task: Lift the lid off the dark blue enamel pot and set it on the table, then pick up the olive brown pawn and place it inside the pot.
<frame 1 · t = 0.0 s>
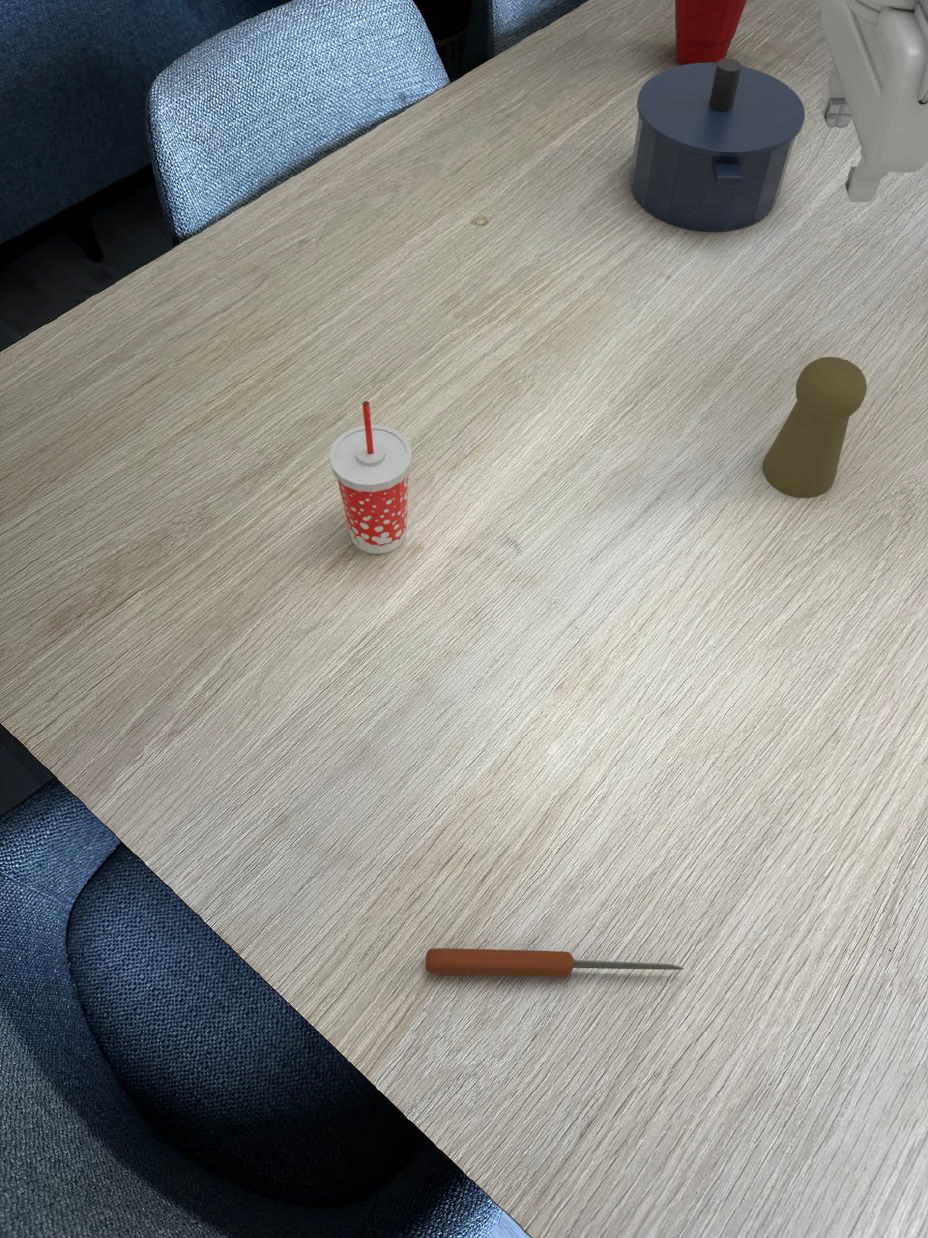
hand: (845, 157, 75), 22 cm above the table, tool pointing down, fingers open, 8 cm apart
plastic cup: (697, 60, 127), on the table
lid: (719, 110, 104), point 8 cm above the table, touching pot
orange-handled awl: (553, 970, 64), on the table
beverage cup: (378, 533, 84), on the table
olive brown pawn: (797, 472, 88), on the table
pot: (703, 187, 111), on the table
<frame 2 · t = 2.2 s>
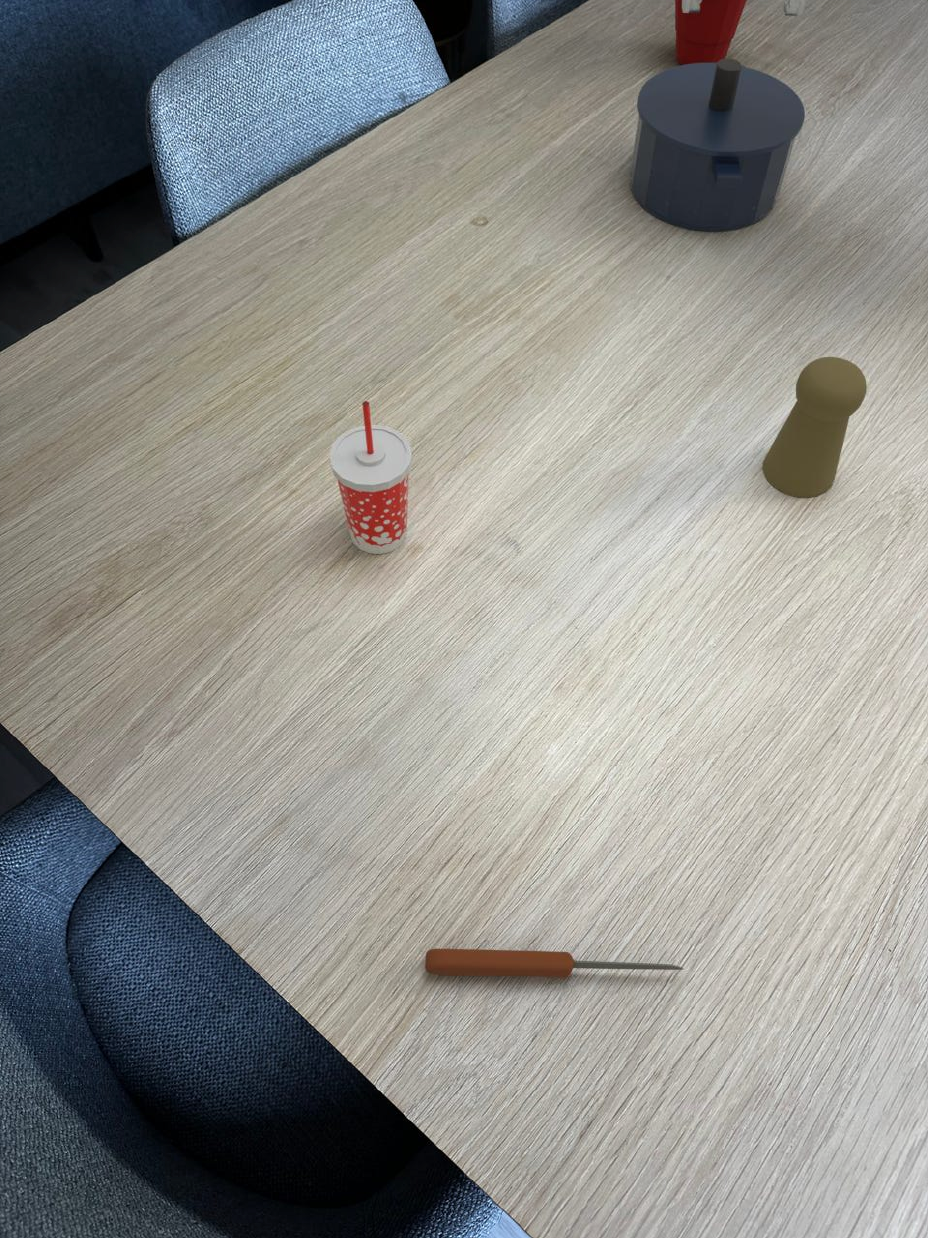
hand: (741, 11, 96), 18 cm above the table, tool pointing down, fingers open, 8 cm apart
nothing on the table moved.
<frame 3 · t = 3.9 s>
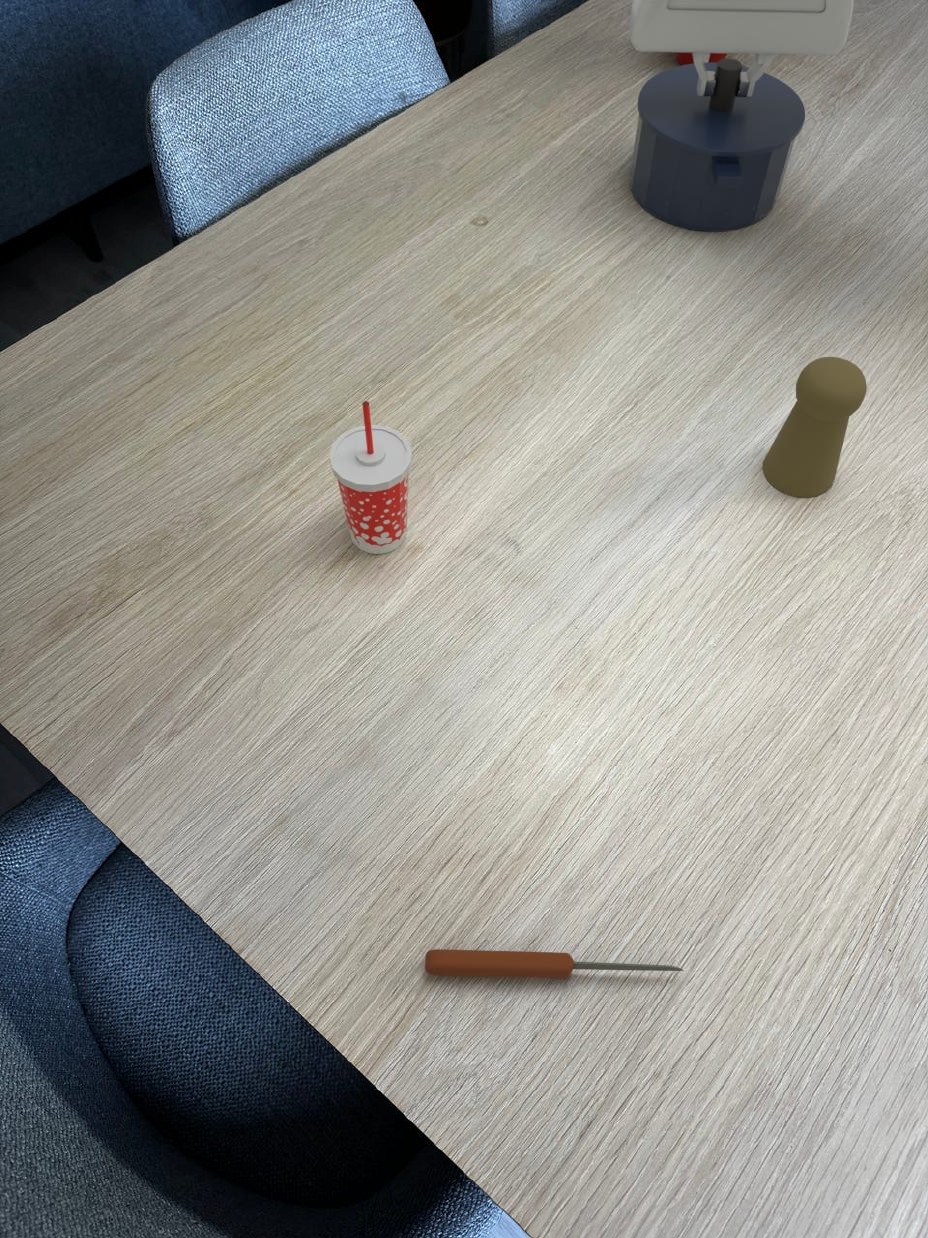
hand: (723, 93, 103), 10 cm above the table, tool pointing down, fingers closed on lid, 2 cm apart
lid: (720, 110, 104), point 9 cm above the table, touching gripper, pot
everything else where it was.
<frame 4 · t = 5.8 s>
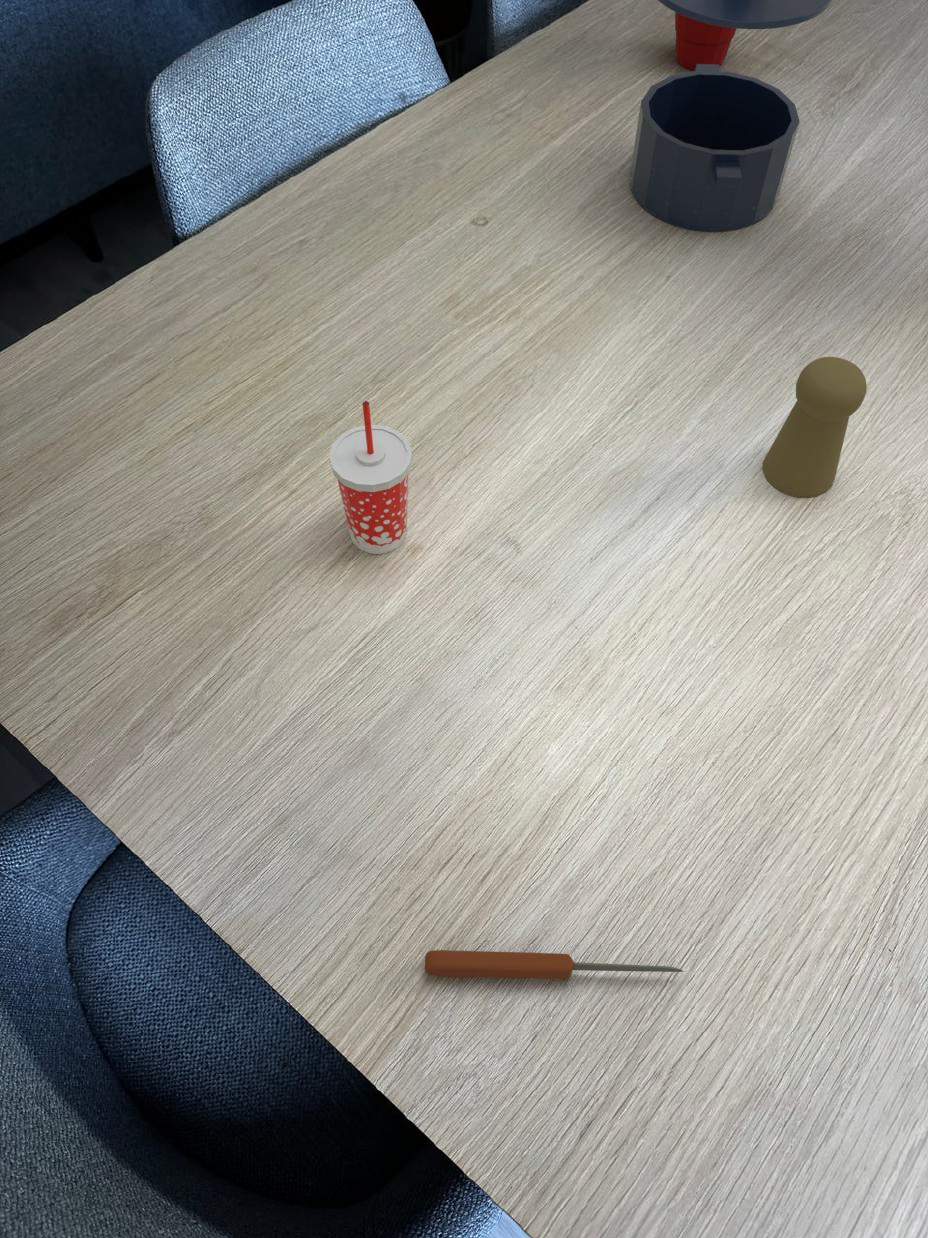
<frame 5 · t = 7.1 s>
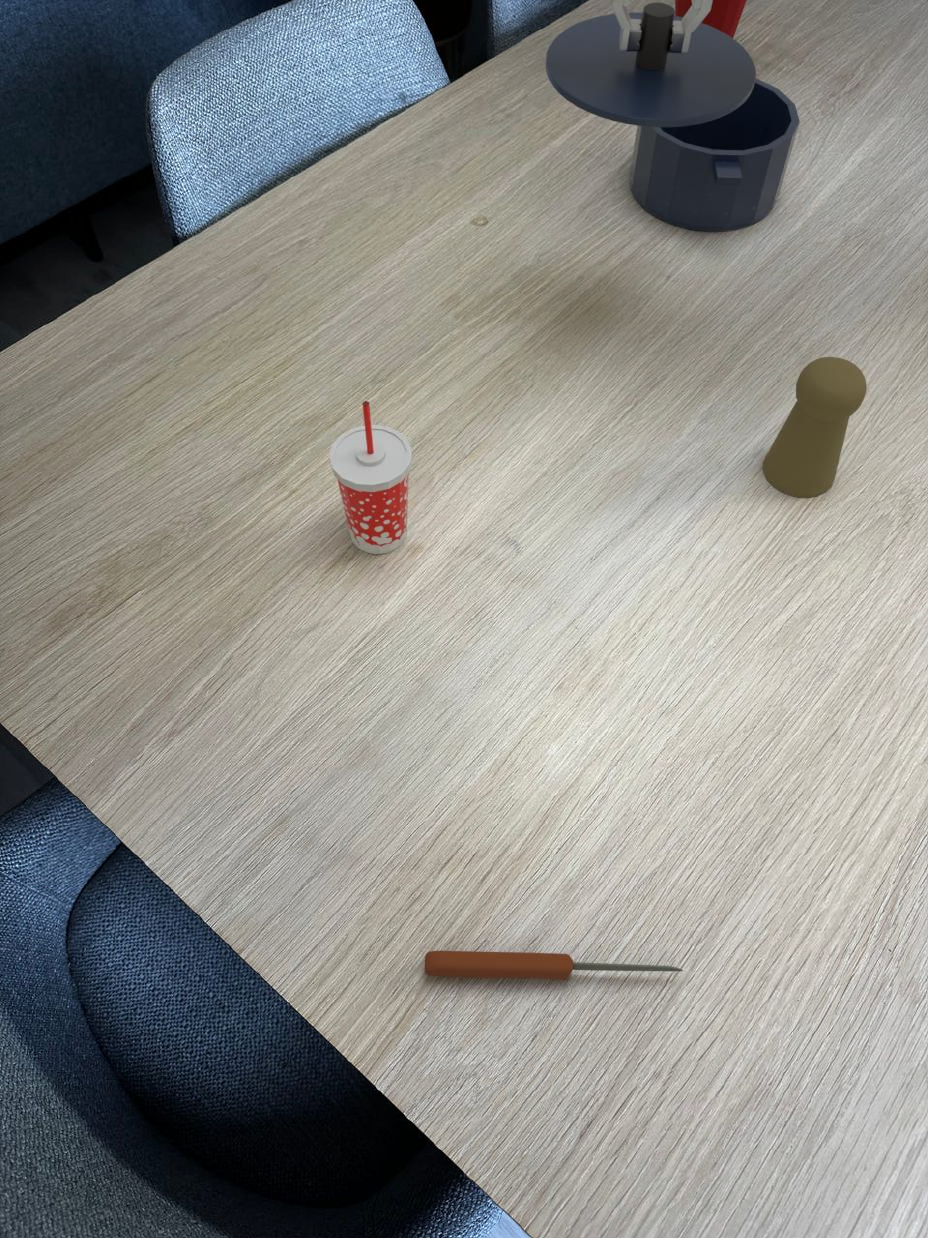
hand: (652, 48, 81), 24 cm above the table, tool pointing down, fingers closed on lid, 2 cm apart
lid: (649, 70, 83), point 22 cm above the table, touching gripper
everything else where it was.
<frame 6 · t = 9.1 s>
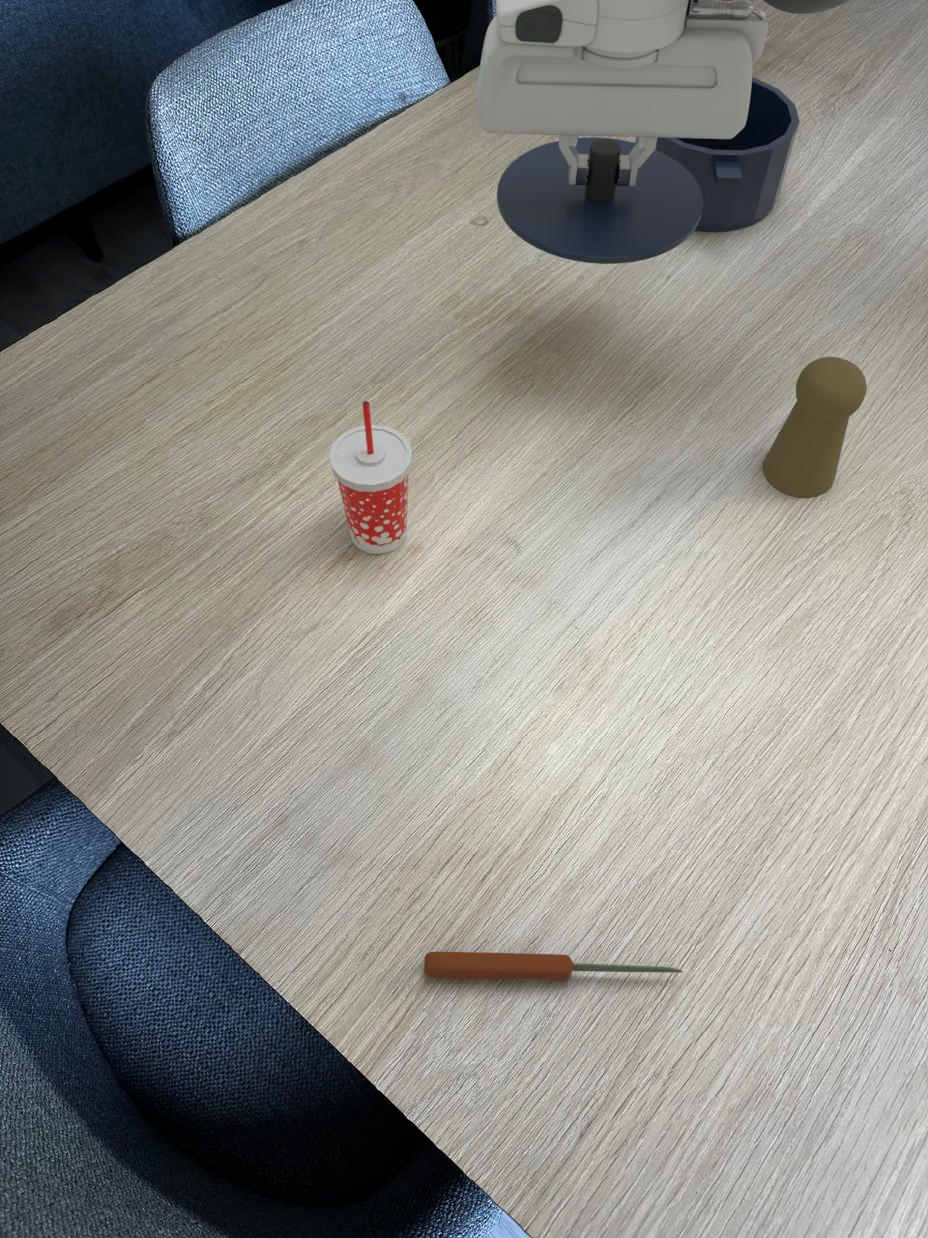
hand: (600, 181, 83), 17 cm above the table, tool pointing down, fingers closed on lid, 2 cm apart
lid: (598, 200, 84), point 15 cm above the table, touching gripper
everything else where it was.
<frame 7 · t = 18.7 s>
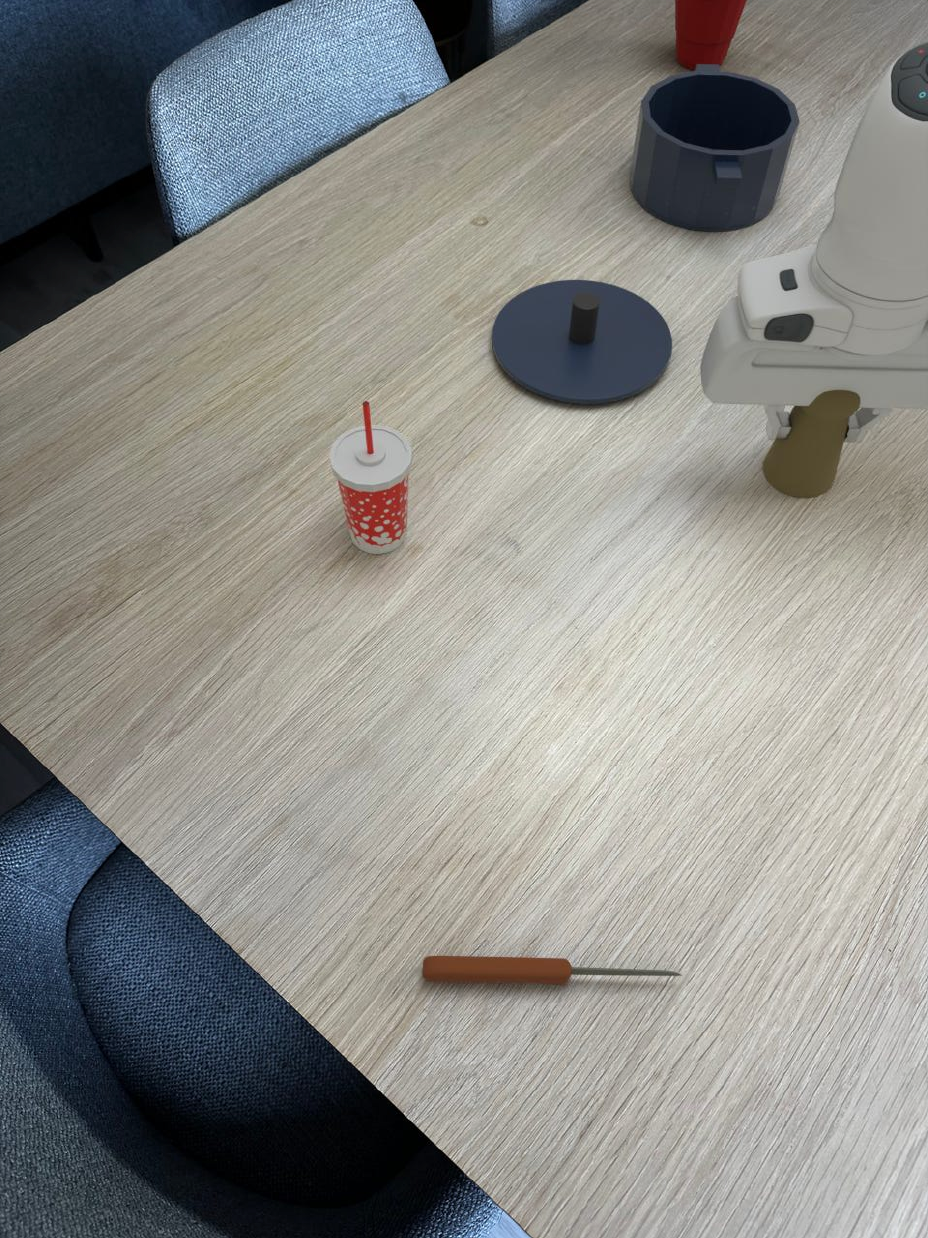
hand: (811, 436, 84), 4 cm above the table, tool pointing down, fingers closed on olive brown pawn, 4 cm apart
lid: (581, 341, 96), point 1 cm above the table
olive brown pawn: (797, 472, 88), on the table, touching gripper
everything else where it was.
when the fingers open (5 cm above the table, at t = 29.2 s): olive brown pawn stays where it is, resting on pot.
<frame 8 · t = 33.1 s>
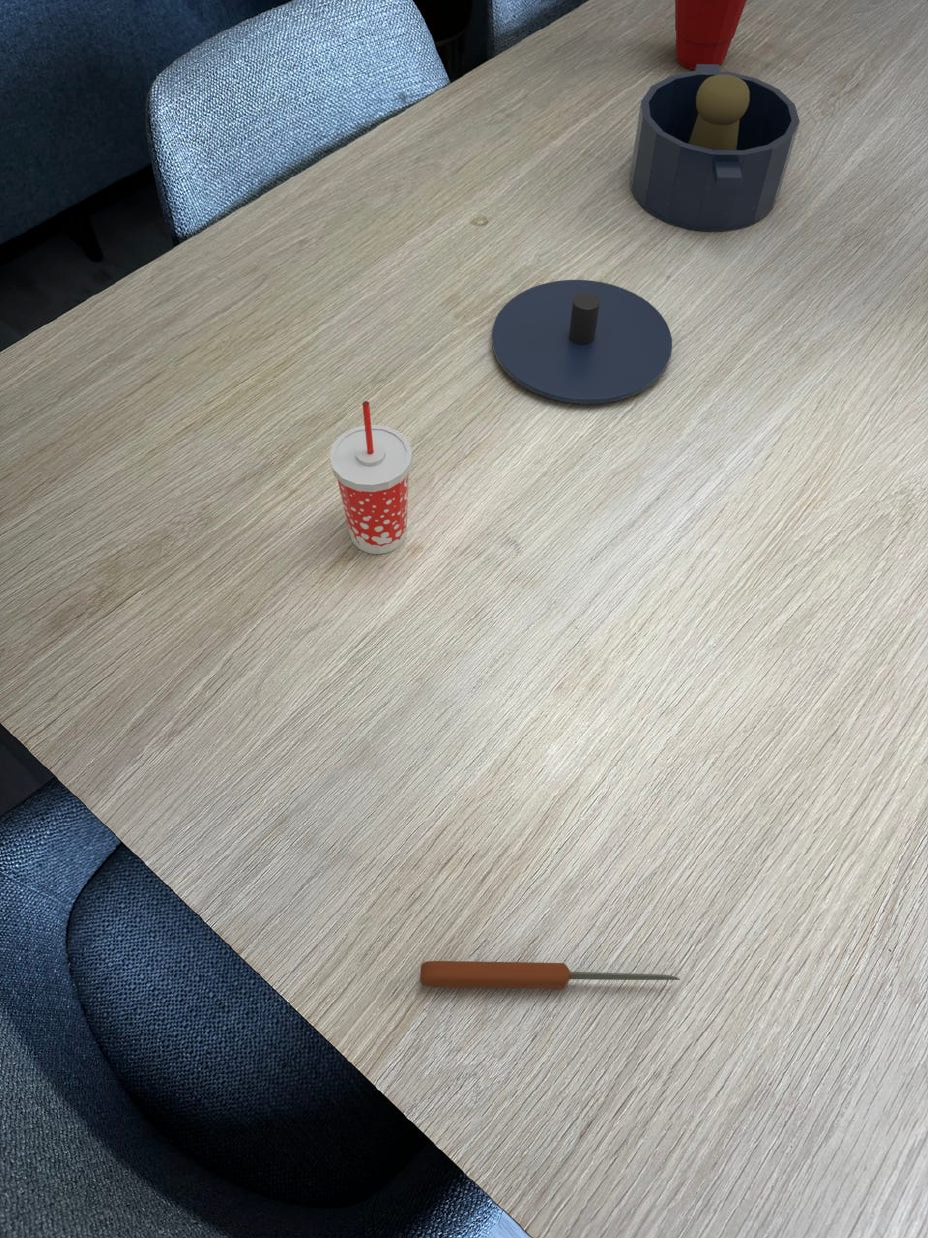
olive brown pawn: (704, 185, 111), resting on pot
everything else where it was.
at the end: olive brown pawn inside the target area in the pot (0.1 cm from its centre), point 0.3 cm above the pot's base; lid inside the target area (0.0 cm from its centre), point 0.6 cm above the table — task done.
